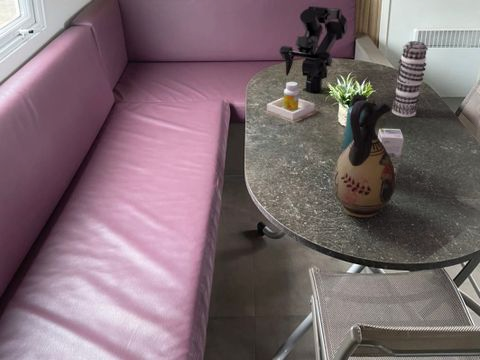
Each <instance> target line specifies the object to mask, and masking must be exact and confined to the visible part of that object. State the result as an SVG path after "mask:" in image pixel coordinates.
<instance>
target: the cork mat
mask: <svg viewBox="0 0 480 360" xmlns="http://www.w3.org/2000/svg"><path fill="white" fill-rule="evenodd" d="M263 112H264V113H267V114H269V115H271V116H274V117H277V118H280V119H283V120H285V121H288V122H290V123H293V124H296V123H297V122H299V121H301V120H304V119H306V118H308V117H309V116H312V115H314V114H316V113H318V112H319V110H316V109H314V112H312V113H310V114H308V115H306V116H304V117H302V118H299V119H297V120H295V121H293V122H292V121H290V120H287V119H284V118H282V117H279V116H276V115H274V114H271V113H268V112H267V109H266V110H264V111H263Z"/></svg>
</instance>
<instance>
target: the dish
mask: <svg viewBox="0 0 480 360" xmlns="http://www.w3.org/2000/svg"><path fill="white" fill-rule="evenodd" d="M283 99H284V96H283V97H281V98H279V99H276V100H273V101H271V102H269V103H267V104H266V110H267V112H268V113H267V114H269V113H271V114H274V115H276V116H275V117H277V116H279V117H282V118H284V119H283V120H285V119H287V120H290V121H292V122H293V121H295V120H297V119H299V118H302V117H304V116H306V115H308V114H310V113H312V112H314V110H315V103H314V102H311V101H307V100H306V99H305V100H304V99H302V98H299V102H298V110H296V111H294V112H291V111H289V110H286V109H283ZM271 114H270V115H271ZM274 115H273V116H274ZM279 117H278V118H279ZM282 118H281V119H282ZM287 120H286V121H287ZM290 121H289V122H290ZM292 122H291V123H292Z"/></svg>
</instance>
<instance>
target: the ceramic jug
mask: <svg viewBox="0 0 480 360" xmlns="http://www.w3.org/2000/svg"><path fill="white" fill-rule="evenodd" d="M352 106H353V107H352V110H351V116H350V124H351V129H352V134H353V141H352V142H351V143H350V145H349V146H348V147H347V148H346V149H345V150H344V152H343V151H342V153H341V154H340V156H339V157H338V159H337V160H336V162H335V165H334V167H333V170H332V171H333V172H332V175H331V176H332V177H331V186H332V190H333V193H334V196H335V197H336V199H337V201H339V203H340V204H341V205H342V208H343V209H344V212H345V214H347V215H349V216H352V217H357V218H372V217H375V216H376V215H378V214H380V212H381V210H380V209H382V208H383V207H384V206H386V204H387V203H388V202H389V201H390V200H391V198H392V197H393V195H394V192H395V189H396V181H395V172H394V167H393V164H392V161H391V159H390V157H389V155H388V153H387V151H386V149H385V147H384V146H383V144H382V143H381V141H380V140H379V138H378V135H377V132H376V126H377V122H378V120H380V118H381V117H382V116H384V115H385V114H387V113H389V112H390V111H392V109H391V106H389V105H387V104H386V103H384V102H380V103H378V104H377V103H376V102H375V100H373V99H371V100H370V101H369V100H368V99H367V100H361V101H357V102H356V103H355V104H352ZM362 111H364V115H363V116H362V119H361V121H360V122H359V120H360V115H361V112H362ZM360 127H362V129H360Z"/></svg>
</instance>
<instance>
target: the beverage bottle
mask: <svg viewBox="0 0 480 360" xmlns="http://www.w3.org/2000/svg"><path fill="white" fill-rule="evenodd" d="M361 100H367V101H368V97H367V95H365V94H361V93H360V94H354V95H353V96H352V100H351V104H352V105H351V106H350V107H349V108H347V111H346V119H345V120H346V121H345V127H344V135H343V136H344V139H343V146H342V148H343V149H342V153H343V152H344V150H345V149H346V148H347V147H348V146H349V145H350V143H351V142H352V141H353V134H352V129H351V124H350V116H351V110H352V107H353V105H354V104H355V103H356V102H357V101H361ZM363 115H364V111H362V112H361V115H360V120H359V122H360V121H361V119H362V116H363ZM360 129H362V127H360Z"/></svg>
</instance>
